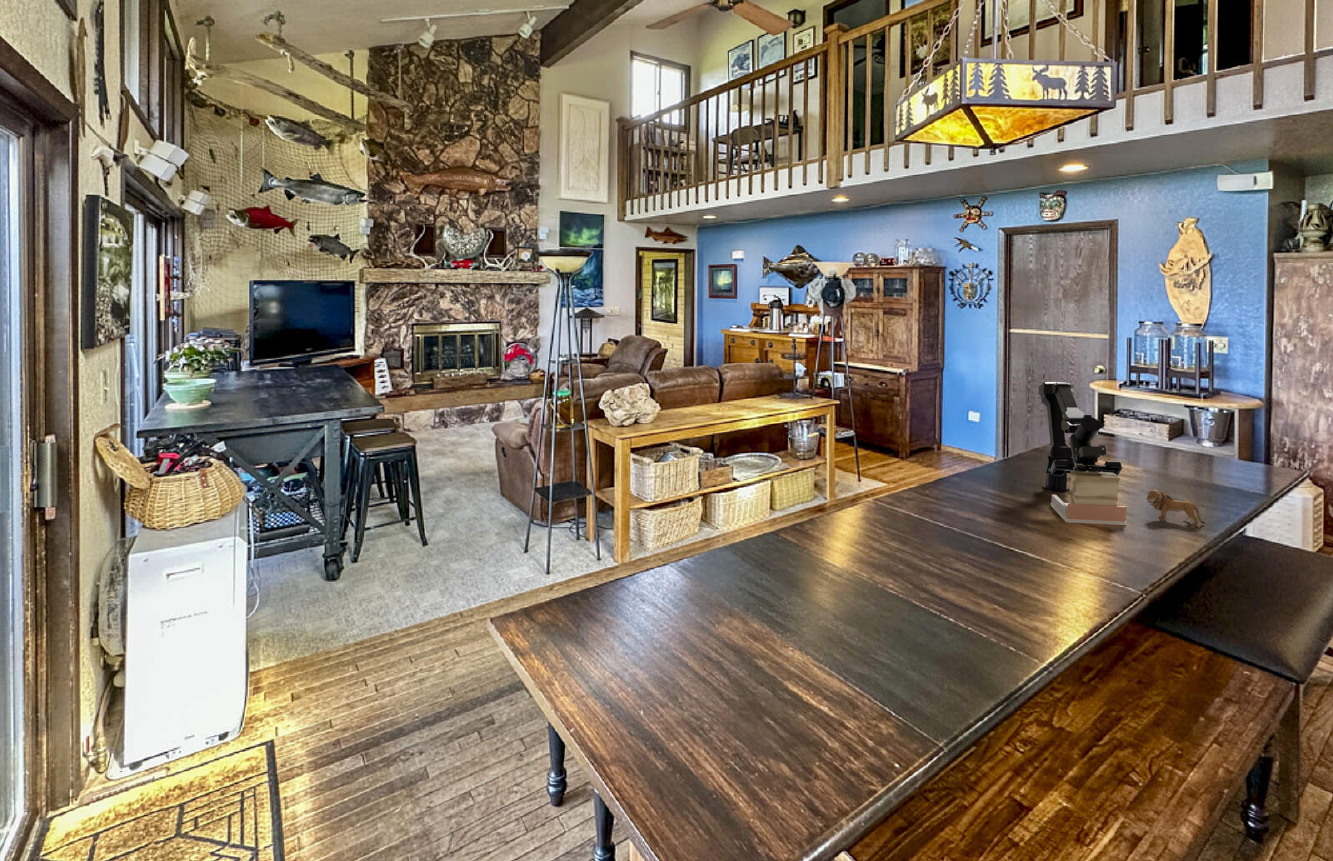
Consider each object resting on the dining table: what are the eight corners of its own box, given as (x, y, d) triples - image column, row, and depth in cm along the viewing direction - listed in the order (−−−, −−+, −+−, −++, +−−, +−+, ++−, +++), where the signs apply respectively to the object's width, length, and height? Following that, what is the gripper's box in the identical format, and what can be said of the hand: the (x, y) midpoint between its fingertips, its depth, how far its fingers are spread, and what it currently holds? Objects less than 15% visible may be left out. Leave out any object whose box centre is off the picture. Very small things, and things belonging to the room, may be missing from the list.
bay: (1050, 504, 227) (1051, 488, 226) (1105, 507, 223) (1106, 490, 222) (1066, 522, 209) (1067, 504, 208) (1126, 525, 205) (1128, 507, 204)
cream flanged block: (1067, 511, 216) (1070, 471, 213) (1109, 513, 213) (1112, 472, 210) (1073, 517, 210) (1077, 476, 207) (1116, 519, 207) (1120, 477, 204)
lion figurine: (1144, 519, 210) (1147, 490, 208) (1145, 515, 214) (1148, 486, 212) (1205, 527, 201) (1208, 497, 199) (1205, 522, 205) (1208, 493, 203)
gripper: (1055, 434, 218) (1062, 477, 209) (1122, 435, 213) (1133, 479, 204) (1047, 453, 227) (1053, 495, 218) (1111, 455, 222) (1121, 497, 213)
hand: (1089, 491), depth 213 cm, fingers closed, pressing on cream flanged block
